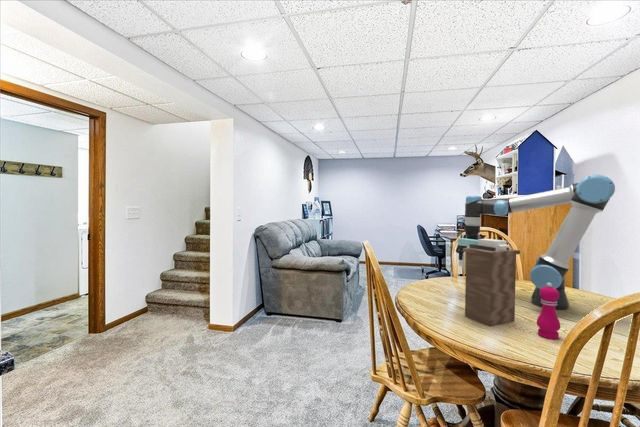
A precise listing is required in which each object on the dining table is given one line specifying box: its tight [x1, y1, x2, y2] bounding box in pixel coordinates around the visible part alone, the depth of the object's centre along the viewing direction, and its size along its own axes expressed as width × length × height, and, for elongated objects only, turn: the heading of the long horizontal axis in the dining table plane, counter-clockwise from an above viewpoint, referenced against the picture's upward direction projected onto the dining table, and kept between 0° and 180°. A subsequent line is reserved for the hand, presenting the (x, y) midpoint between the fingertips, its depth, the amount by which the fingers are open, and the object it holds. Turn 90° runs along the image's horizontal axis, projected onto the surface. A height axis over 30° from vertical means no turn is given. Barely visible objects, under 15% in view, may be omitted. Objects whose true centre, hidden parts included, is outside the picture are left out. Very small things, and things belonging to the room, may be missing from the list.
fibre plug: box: [457, 237, 510, 251], centre depth 139 cm, size 6×23×4 cm, turn 23°
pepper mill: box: [536, 283, 561, 340], centre depth 118 cm, size 7×7×20 cm
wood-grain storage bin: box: [463, 244, 521, 327], centre depth 135 cm, size 17×14×32 cm
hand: (470, 265), depth 168 cm, fingers open, 13 cm apart
